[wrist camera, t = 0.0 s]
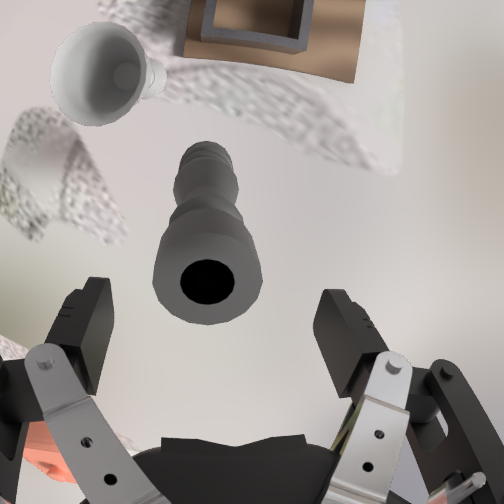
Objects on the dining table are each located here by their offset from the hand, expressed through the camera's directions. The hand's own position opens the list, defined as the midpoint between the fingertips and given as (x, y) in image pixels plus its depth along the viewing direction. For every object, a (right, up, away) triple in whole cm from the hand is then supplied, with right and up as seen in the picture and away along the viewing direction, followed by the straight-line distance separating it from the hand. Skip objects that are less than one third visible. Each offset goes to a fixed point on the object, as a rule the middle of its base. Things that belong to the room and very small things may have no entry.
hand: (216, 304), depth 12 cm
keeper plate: (+4, +29, +18) cm, 35 cm away
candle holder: (-4, +12, +27) cm, 30 cm away
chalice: (-11, +22, +20) cm, 32 cm away
